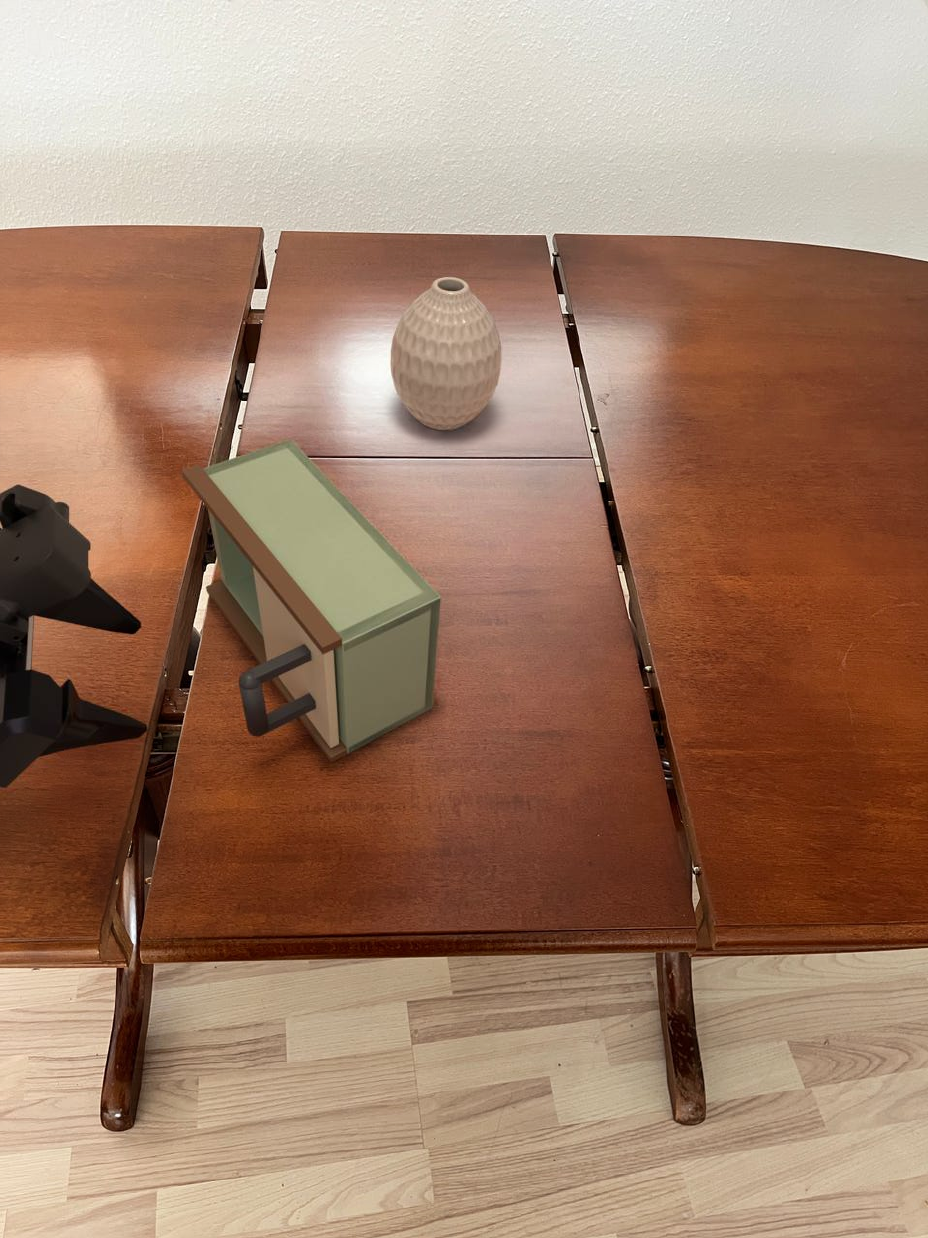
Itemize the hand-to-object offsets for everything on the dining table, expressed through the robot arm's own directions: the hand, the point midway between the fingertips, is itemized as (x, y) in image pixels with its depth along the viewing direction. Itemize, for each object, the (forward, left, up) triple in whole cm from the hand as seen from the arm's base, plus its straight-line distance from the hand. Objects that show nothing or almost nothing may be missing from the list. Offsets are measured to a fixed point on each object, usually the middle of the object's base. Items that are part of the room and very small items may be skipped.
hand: (140, 677), depth 59 cm
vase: (+48, +30, -13) cm, 58 cm away
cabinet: (+17, +6, -13) cm, 22 cm away
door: (+9, +1, -12) cm, 15 cm away
